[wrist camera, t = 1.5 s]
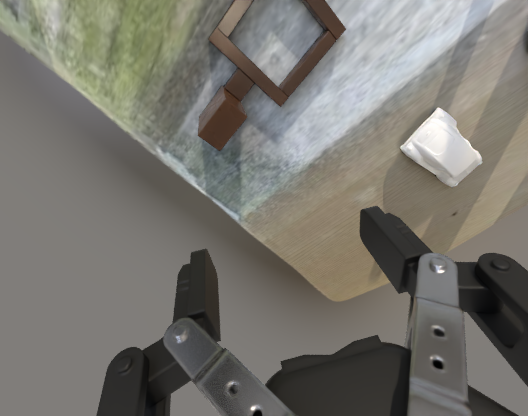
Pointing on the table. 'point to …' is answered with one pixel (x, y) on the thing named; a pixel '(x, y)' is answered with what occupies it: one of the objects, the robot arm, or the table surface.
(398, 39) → the table surface
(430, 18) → the table surface
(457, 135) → the car
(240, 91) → the brown wooden frame
